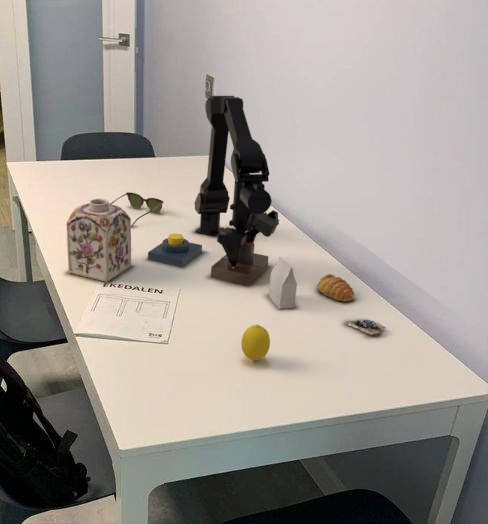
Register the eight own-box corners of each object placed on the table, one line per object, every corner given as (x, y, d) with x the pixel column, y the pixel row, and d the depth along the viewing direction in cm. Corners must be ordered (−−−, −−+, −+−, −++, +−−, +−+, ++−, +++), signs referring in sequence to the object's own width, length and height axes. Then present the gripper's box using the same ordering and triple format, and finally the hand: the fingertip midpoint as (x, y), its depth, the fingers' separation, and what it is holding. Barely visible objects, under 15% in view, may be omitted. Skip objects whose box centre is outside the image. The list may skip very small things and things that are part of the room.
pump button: (172, 239, 180) (172, 232, 179) (185, 242, 178) (186, 235, 177) (165, 244, 176) (165, 237, 175) (178, 247, 175) (179, 239, 174)
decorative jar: (132, 266, 171) (132, 198, 163) (108, 283, 162) (106, 212, 154) (92, 257, 176) (90, 190, 167) (66, 273, 166) (63, 203, 158)
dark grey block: (228, 260, 170) (229, 240, 168) (231, 257, 172) (232, 238, 169) (250, 264, 168) (251, 245, 166) (253, 262, 170) (254, 242, 167)
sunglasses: (164, 215, 208) (163, 200, 205) (135, 232, 197) (134, 216, 195) (127, 205, 214) (126, 191, 212) (97, 221, 204) (96, 206, 201)
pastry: (360, 299, 160) (362, 285, 158) (339, 305, 156) (341, 291, 155) (334, 284, 167) (336, 270, 165) (313, 290, 163) (314, 275, 162)
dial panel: (231, 259, 179) (232, 248, 177) (267, 266, 175) (269, 255, 174) (210, 277, 167) (210, 266, 166) (248, 286, 164) (249, 274, 162)
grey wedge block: (279, 309, 153) (283, 268, 149) (268, 296, 159) (272, 257, 155) (294, 307, 154) (299, 267, 150) (283, 295, 160) (287, 256, 156)
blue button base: (169, 245, 186) (169, 231, 184) (201, 252, 182) (202, 238, 180) (147, 259, 176) (147, 245, 174) (181, 267, 172) (182, 253, 170)
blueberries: (377, 339, 142) (379, 331, 141) (342, 328, 146) (343, 321, 145) (387, 327, 147) (389, 319, 146) (353, 317, 151) (354, 309, 150)
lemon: (238, 353, 135) (241, 318, 131) (265, 353, 135) (268, 318, 132) (242, 368, 130) (245, 331, 126) (270, 367, 130) (274, 331, 127)
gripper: (262, 217, 152) (257, 280, 159) (289, 196, 167) (282, 254, 174) (217, 208, 156) (214, 270, 163) (247, 189, 171) (243, 246, 178)
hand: (240, 260), depth 170 cm, fingers open, 9 cm apart
